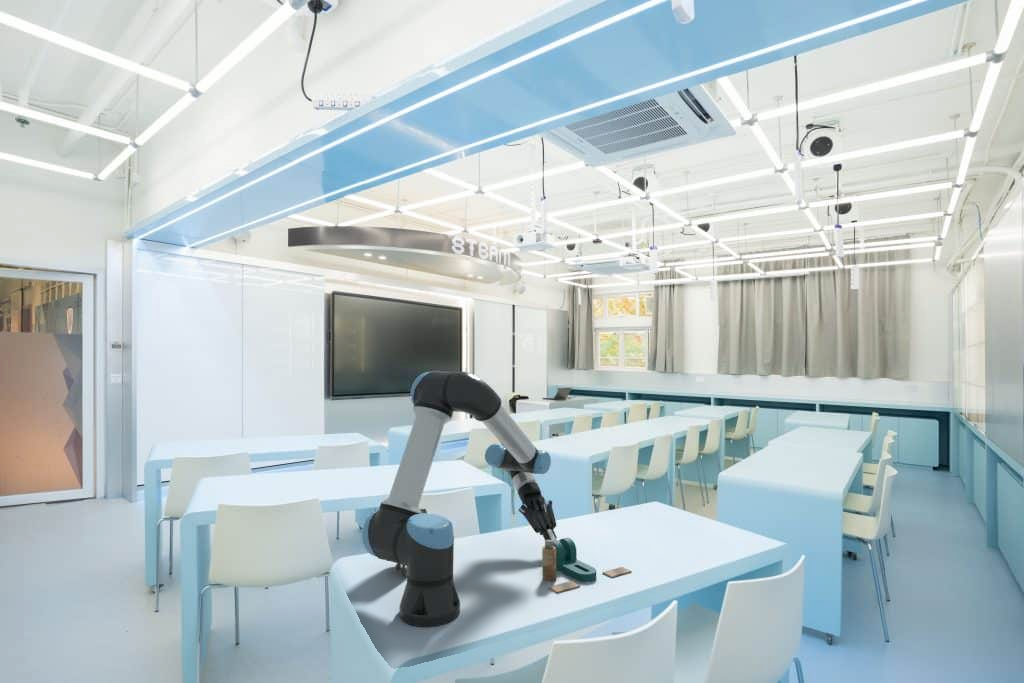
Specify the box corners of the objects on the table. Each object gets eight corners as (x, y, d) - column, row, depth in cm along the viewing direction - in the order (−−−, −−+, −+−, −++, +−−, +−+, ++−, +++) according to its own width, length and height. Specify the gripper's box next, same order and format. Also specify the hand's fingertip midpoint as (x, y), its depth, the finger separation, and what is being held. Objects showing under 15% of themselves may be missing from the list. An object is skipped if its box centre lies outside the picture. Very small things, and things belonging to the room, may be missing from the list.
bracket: (546, 564, 169) (545, 538, 169) (563, 560, 172) (562, 535, 173) (583, 584, 154) (583, 556, 154) (601, 578, 157) (600, 551, 158)
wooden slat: (557, 593, 147) (557, 591, 147) (548, 588, 151) (548, 586, 151) (631, 572, 162) (631, 570, 162) (622, 568, 166) (622, 566, 166)
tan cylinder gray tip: (547, 583, 154) (547, 544, 155) (539, 578, 158) (539, 540, 158) (559, 580, 156) (558, 541, 157) (550, 575, 160) (550, 537, 160)
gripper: (537, 490, 192) (566, 552, 178) (506, 495, 185) (534, 559, 171) (546, 478, 188) (577, 540, 174) (515, 483, 181) (544, 547, 167)
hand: (556, 549), depth 172 cm, fingers closed
